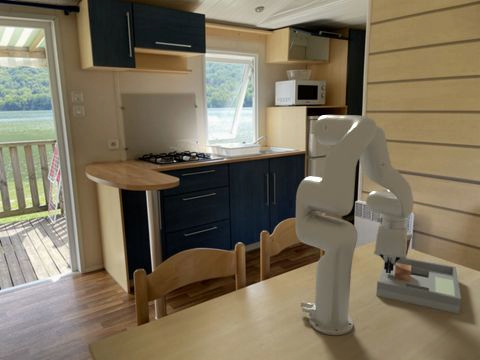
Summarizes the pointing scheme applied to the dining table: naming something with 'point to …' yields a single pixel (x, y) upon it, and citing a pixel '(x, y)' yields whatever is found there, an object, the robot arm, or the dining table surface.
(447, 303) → the box
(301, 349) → the dining table surface
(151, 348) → the dining table surface
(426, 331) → the dining table surface
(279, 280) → the dining table surface
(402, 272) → the block
